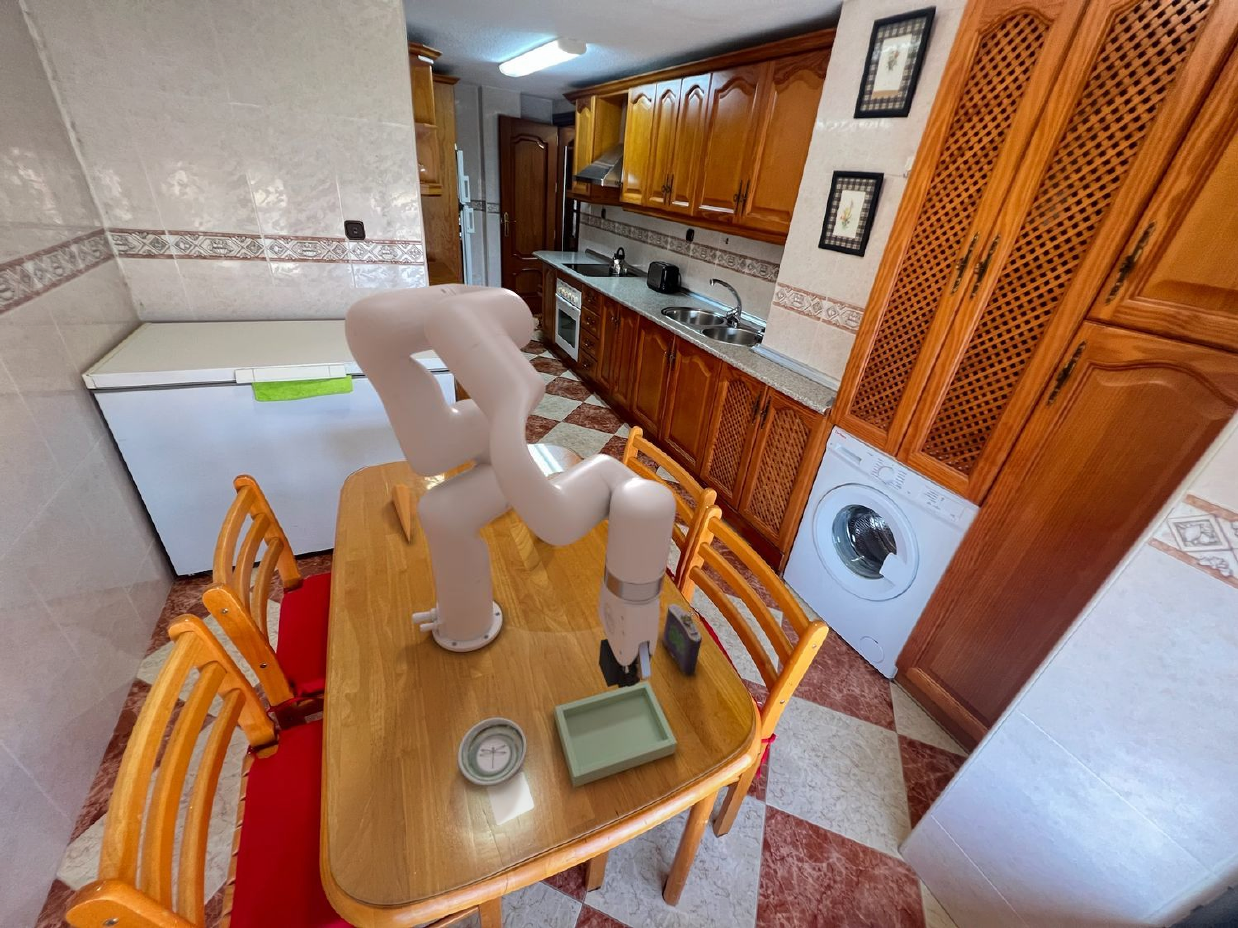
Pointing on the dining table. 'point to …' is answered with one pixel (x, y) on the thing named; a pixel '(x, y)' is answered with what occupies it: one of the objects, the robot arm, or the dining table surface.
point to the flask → (682, 638)
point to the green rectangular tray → (613, 732)
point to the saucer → (492, 751)
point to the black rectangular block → (609, 663)
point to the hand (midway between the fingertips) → (622, 668)
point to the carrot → (402, 506)
